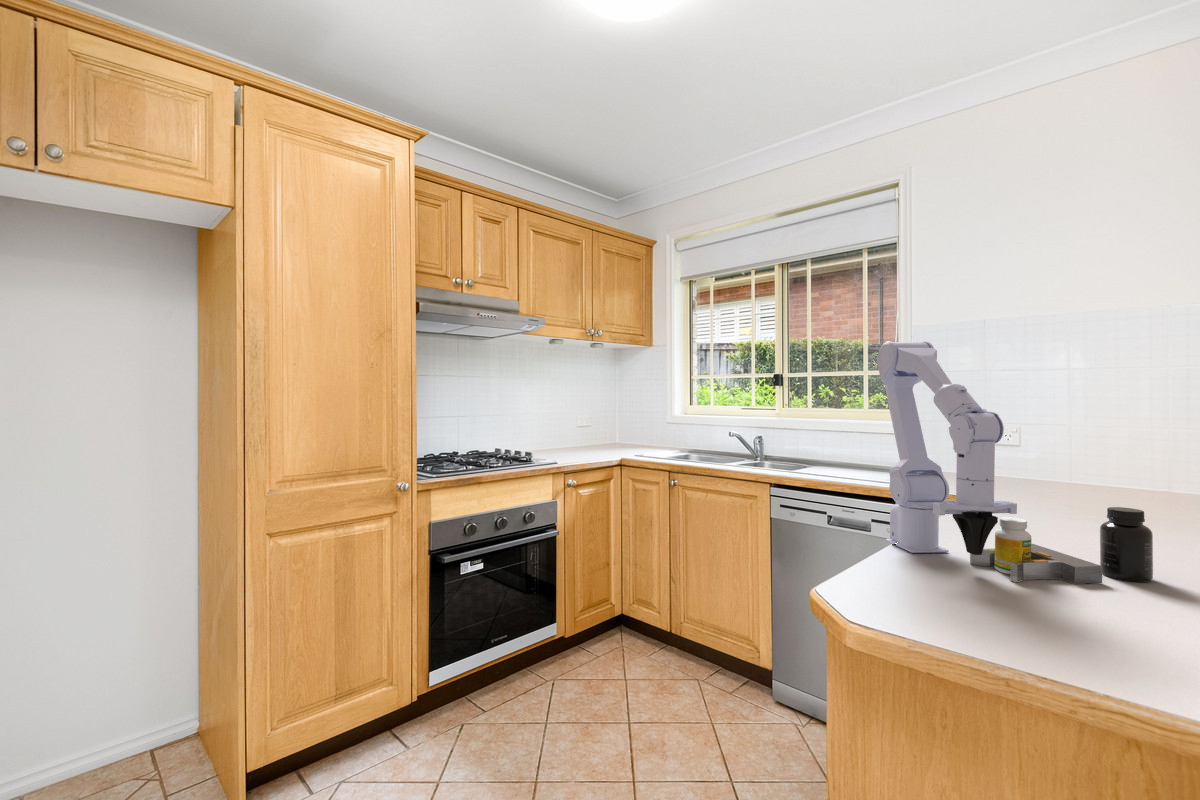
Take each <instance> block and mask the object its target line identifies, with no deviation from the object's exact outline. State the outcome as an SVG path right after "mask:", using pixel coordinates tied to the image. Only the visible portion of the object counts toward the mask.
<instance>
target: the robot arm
mask: <svg viewBox="0 0 1200 800" xmlns="http://www.w3.org/2000/svg"><path fill="white" fill-rule="evenodd" d="M876 363H877V367H878V373H879V378H880V381H881V383H882V384H883V385H884V390H885V393H886V399H887V403H888V409H889V414H890V419H891V424H892V428H893V434H894V438H895V442H896V443H895V444H896V447H897V454H898V457H899V461H898V462H897V463H896V464H894V466H892V467H891V469H890V470H889V472H888V473H889V481H890V482H889V487H888V488H889V493H890V496H891V499H892V500H894V502H895V504H894V505H893V506H892V507H891V509H890V512H889V538H886V539H885V541H886V542H887V543H890V544H892V545H894V544H895V543H897V542H898V543H897V544H896V545H895V546H896V547H898V548H900V549H903V550H904V551H907V552H909V553H913V554H923V553H925V554H927V553H931V554H932V553H949V549H948V548H946V547H943V546H940V545H939V537H940V536H939V534H940V533H939V528H940V527H939V516H945V515H952V518H953V520H954V522H955V523H956V525H957V526H958V528H959V532H960V533H961V535H962V539H963V541H964V546H965V549H966V553H969V554H970V553H971V554H973V555H982V552H983V549H985V545H986V542H987V540H988V537H989V536H990V533H991V532H992V530H993V529H994V527H995V526H996V525H997V524H998V523H999V522H998V519H999V518H998V516H996V515H993V514H1010V515H1017V514H1018V504H1017V502H1013V501H1007V500H1006V501H1005V500H1004V501H1002V500H995V468H996V467H995V460H996V459H995V455H996V454H995V453H996V452H995V451H996V444H997V443H998V442H1000V441H1001V440H1002V438H1003V436H1004V433H1005V432H1004V430H1005V427H1004V423H1003V421H1002V419H1001V417H1000V416H999V414H998V413H996V412H993V411H988V410H987V409H985V408H982V407H981V406H980V405H979V404H978V402H977V401H976V400H975V399H974V398H973V396H972V395H971V394H970V393H969V392H968V389H967V388H966V386H965V385H961V384H957V383H953V382H952V381H951V380H950V379H949V377H948V376H947V374H946V372H945V371H944V370H943V367H941V365H940V363H939V362H938V351H937V349H936V348H935V347H934V345H933V344H932V343H931V342H930V341H920V342H919V341H918V342H917V341H913V342H912V341H909V342H908V341H902V342H901V341H897V342H896V341H892V340H891V341H885V342H884V343H882V345H881V346H880V348H879V350H878V353H877V356H876ZM921 382H923V383H924V384H925V385H926V386H927V387H928V388H929V390H930V391H932V392H933V393H934V396H933V403H934V405H935V406H936V407H937V409H938V410H939V412H941V414H942V415H943V416H944V418H945V419H946V421H948V423H949V425H950V426H949V427H948V432H949V436H950V438H951V440H952V445H953V448H952V449H953V450H954V453H956V475H955V476H956V478H955V479H956V480H955V481H956V483H955V486H956V489H955V493H956V494H955V496H956V497H955V500H954V499H953V500H948V498H949V495H950V484H949V483H948V480H947V479H946V478H945V476H944V473H943V471H942V467H941V466H940V465H939V464H937V463H936V462H935V461H933V460H932V459H930V458H929V457H928V452H927V449H926V445H925V444H926V443H925V439H924V435H923V431H922V430H923V429H922V426H921V425H922V424H921V420H920V417H919V412H918V408H917V404H916V399H915V394H914V391H913V389H914V386H915V385H917V384H919V383H921Z"/></svg>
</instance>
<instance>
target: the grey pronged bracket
mask: <svg viewBox="0 0 1200 800" xmlns="http://www.w3.org/2000/svg"><path fill="white" fill-rule="evenodd" d="M969 564H970V565H972V566H973V565H974V566H982V567H995V548H983V552H982V555H973V554H971V553H969ZM1033 579H1052V580H1062V579H1063V581H1064V582H1067V581H1068V582H1067V583H1070V582H1071V584H1073V583H1074V584H1073V585H1085V584H1084V583H1102V584H1103V573H1102V566H1100V564H1097V563H1095V562H1091V561H1088V560H1085V559H1083V558H1078V557H1075V556H1072V555H1069V554H1065V553H1063V552H1059V551H1057V550H1054V549H1051V548H1047V547H1044V546H1041V545H1038V544H1035V543H1031V561H1017V562H1014V563H1012V564H1011V575H1010V582H1012V581H1014V582H1013V583H1016V582H1018V583H1020V582H1022V581H1034V580H1033ZM1021 580H1022V581H1021ZM1019 581H1020V582H1019Z"/></svg>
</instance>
